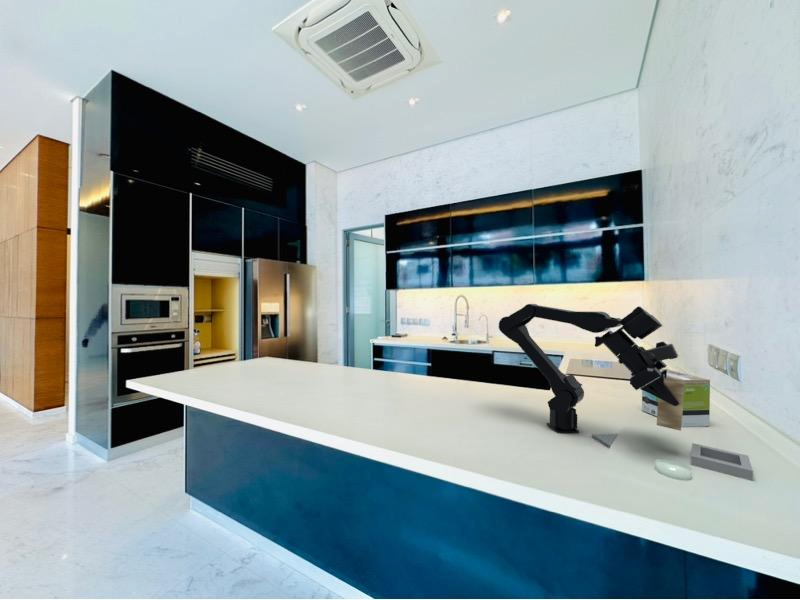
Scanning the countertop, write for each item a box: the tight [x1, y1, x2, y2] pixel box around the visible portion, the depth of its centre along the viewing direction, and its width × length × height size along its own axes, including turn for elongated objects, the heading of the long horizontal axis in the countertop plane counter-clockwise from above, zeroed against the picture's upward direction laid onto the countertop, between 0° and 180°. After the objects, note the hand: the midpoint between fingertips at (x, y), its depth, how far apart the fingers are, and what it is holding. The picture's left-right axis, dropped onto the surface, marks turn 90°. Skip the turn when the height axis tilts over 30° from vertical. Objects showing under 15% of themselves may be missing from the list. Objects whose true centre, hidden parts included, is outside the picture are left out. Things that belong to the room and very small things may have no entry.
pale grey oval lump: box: [654, 458, 693, 481], centre depth 71 cm, size 6×6×2 cm
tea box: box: [641, 368, 711, 428], centre depth 108 cm, size 15×10×15 cm, turn 5°
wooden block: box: [656, 378, 685, 432], centre depth 81 cm, size 4×4×11 cm
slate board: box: [591, 433, 619, 449], centre depth 85 cm, size 14×14×1 cm
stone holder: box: [690, 442, 754, 481], centre depth 75 cm, size 10×10×3 cm
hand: (678, 403), depth 80 cm, fingers closed on wooden block, 4 cm apart
